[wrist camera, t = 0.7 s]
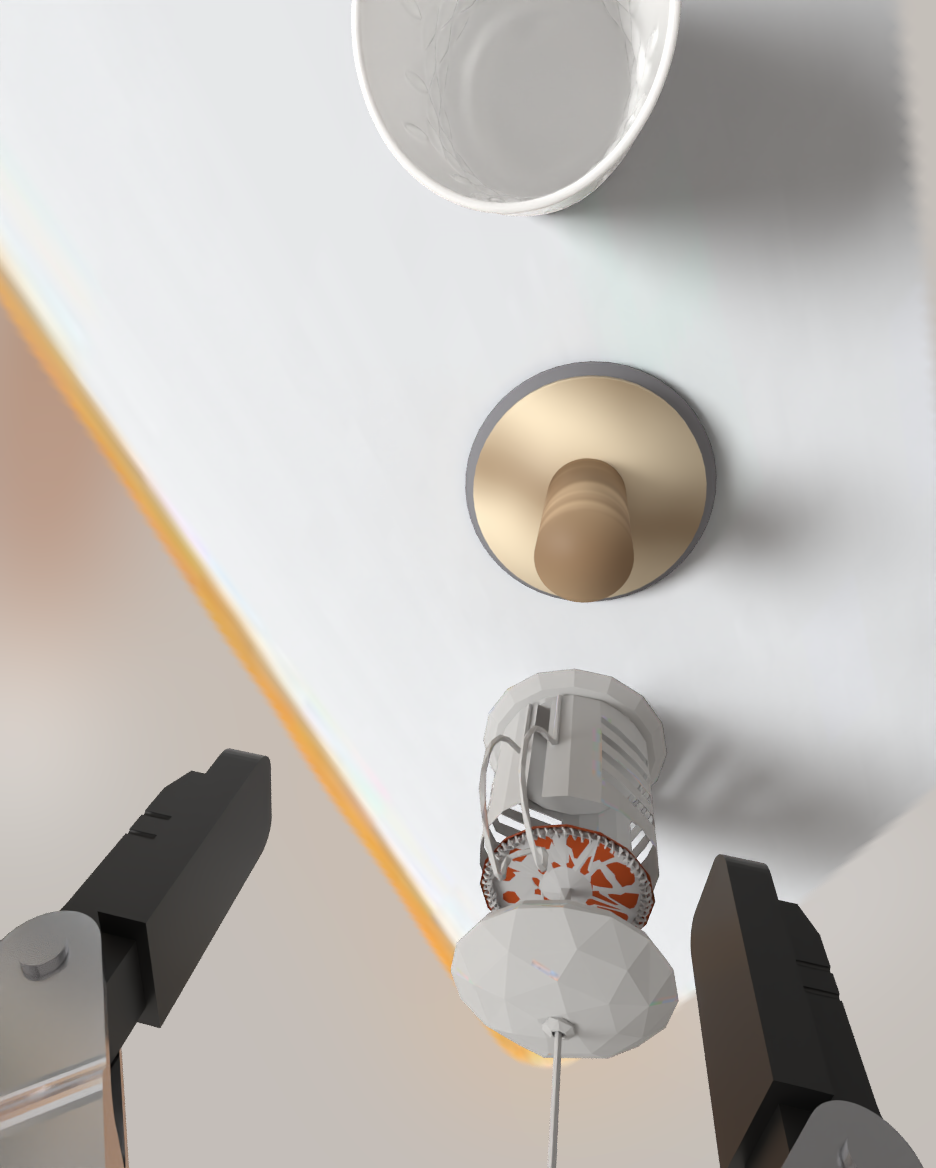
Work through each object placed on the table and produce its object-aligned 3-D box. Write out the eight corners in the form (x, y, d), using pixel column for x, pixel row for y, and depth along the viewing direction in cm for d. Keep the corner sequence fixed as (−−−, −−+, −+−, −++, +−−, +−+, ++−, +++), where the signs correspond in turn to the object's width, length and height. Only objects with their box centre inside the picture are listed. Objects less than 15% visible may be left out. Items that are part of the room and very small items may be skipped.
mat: (478, 347, 29) (477, 348, 29) (744, 377, 28) (746, 379, 27) (457, 579, 34) (455, 582, 33) (682, 614, 32) (683, 618, 32)
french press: (525, 831, 40) (434, 1545, 18) (439, 671, 36) (187, 1320, 14) (692, 794, 37) (837, 1607, 15) (616, 615, 33) (656, 1336, 11)
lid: (487, 362, 29) (452, 392, 22) (730, 390, 28) (774, 432, 21) (466, 574, 33) (432, 657, 26) (675, 607, 32) (697, 702, 25)
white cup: (699, 76, 24) (759, -38, 15) (556, 274, 27) (535, 279, 18) (522, -85, 23) (474, -308, 14) (397, 142, 26) (294, 79, 17)
